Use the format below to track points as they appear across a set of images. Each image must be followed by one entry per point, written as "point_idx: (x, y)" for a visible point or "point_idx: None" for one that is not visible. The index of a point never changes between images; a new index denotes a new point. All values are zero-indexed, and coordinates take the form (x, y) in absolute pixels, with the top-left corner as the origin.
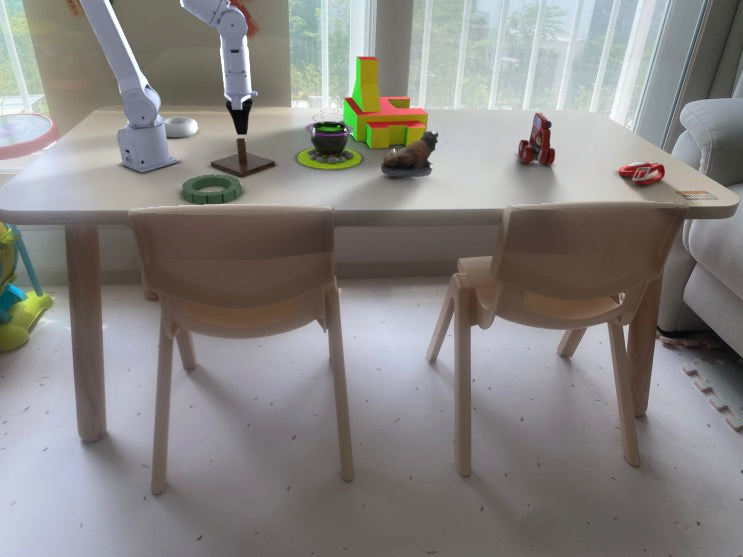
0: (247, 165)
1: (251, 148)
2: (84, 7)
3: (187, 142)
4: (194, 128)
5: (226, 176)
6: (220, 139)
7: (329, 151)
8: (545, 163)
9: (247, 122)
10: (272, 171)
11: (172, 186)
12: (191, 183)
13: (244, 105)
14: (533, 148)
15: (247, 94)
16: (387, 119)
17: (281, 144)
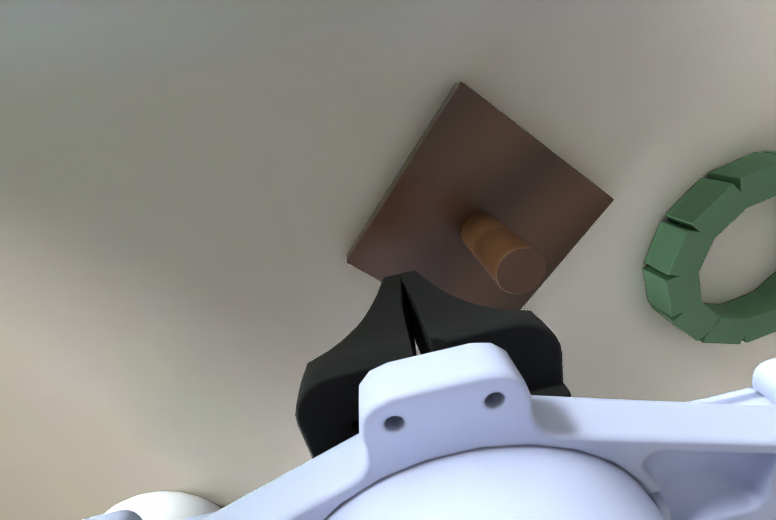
0: (527, 198)
1: (244, 254)
2: None
3: (256, 474)
4: (160, 508)
5: (699, 234)
6: (176, 399)
7: None
8: None
9: (444, 292)
10: (535, 77)
11: (657, 371)
12: (741, 322)
13: (542, 383)
14: None
15: (631, 457)
16: None
17: (122, 123)
